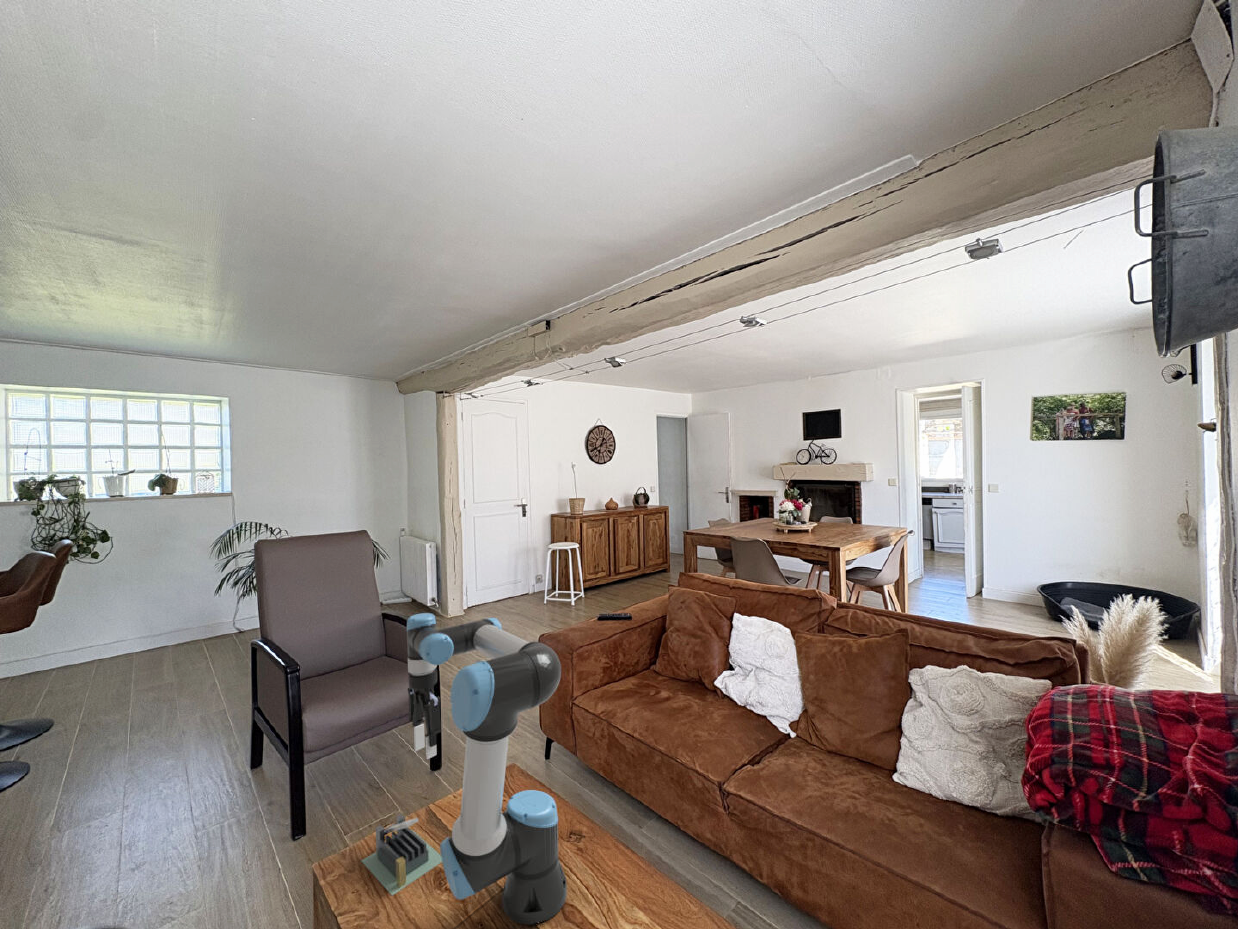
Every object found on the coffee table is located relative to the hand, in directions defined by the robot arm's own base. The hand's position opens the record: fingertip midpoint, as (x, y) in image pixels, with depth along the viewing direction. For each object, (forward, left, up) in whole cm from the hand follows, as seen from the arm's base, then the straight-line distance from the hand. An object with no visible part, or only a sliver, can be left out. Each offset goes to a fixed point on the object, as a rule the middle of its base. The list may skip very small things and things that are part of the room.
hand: (425, 752), depth 144 cm
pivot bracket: (+1, +10, -22) cm, 24 cm away
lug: (-12, +14, -22) cm, 29 cm away
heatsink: (-5, +10, -22) cm, 24 cm away
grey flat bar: (-5, +10, -14) cm, 18 cm away
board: (-5, +10, -23) cm, 26 cm away
